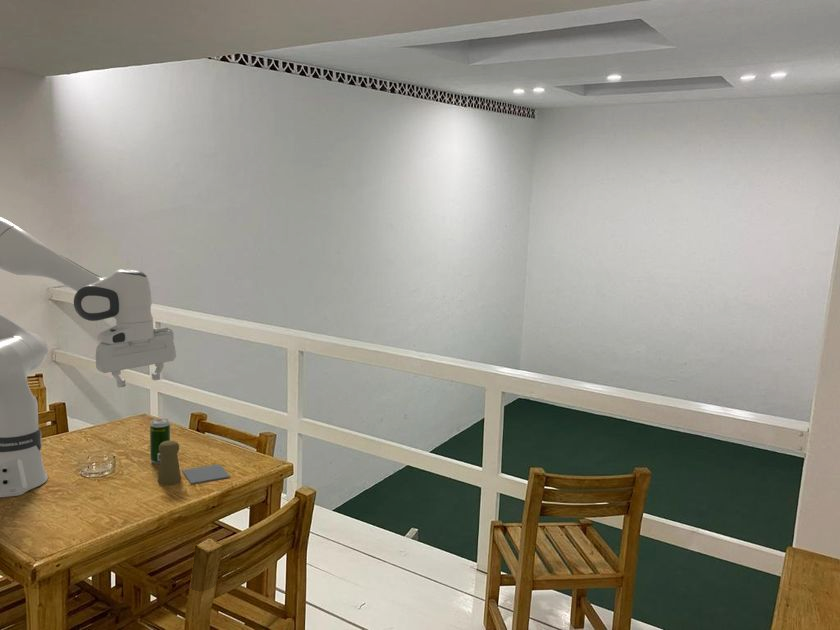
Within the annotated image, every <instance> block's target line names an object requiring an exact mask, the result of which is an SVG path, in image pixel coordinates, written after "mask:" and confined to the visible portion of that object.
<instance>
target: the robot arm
mask: <svg viewBox="0 0 840 630" xmlns="http://www.w3.org/2000/svg"><path fill="white" fill-rule="evenodd" d="M0 269H1V270H3V271H6V272H7V273H10V274H13V275H16V276H17V275H18V276H33V277H34V276H35V277H43V278H49V279H52V280H55V281H57V282H58V283H61V284H63V285H65V286H66V287H67V288H70V289H71V290H73V291H76V293H75V295H74V297H73V307H74V310H75V312H76V313H77V314H78V316H80V318H82V319H84V320H86V321H90V322H99V321H104V320H107V319H111V318H113V319H115V322H116V323H115V325H113V326H112V327H110V328H108V329H105V330H103V331H101V332H100V333H98V334H97V336H96V337H97V341H98V342H99V343H98V344H97V346H96V349H95V367H96V370H97V371H98V372H100V373H103V374H108V373H111V376H112V377H113V378H114V379H115V381H116V385H117V387H118V388H123V387H124V388H125V387H126V385H127V384H126V379H123V378H121V377H120V375H121V374H122V373H121V371H124V370H129V369H135V368H141V367H142V368H143V367H146V366H152V365H154V366H155V367H156V368H155V371H154V372H152V373H151V376H152V377H151V379H152V381H158V380H161V373H162V371H163V368H164V363H169V362H173V361H175V359H176V357H177V354H176V352H177V351H176V347H175V342H174V339H175V336H174V335H175V334H174V331H173V330H172V328H171V329H170V328H168V327H161V328H160V327H159V328H154V318H153V314H152V311H151V308H152V303H153V301H152V293H151V286H150V281H149V278H148V276H147V275H146V274H145V273H144V272H142V271H140V270H136V269H130V268H129V269H128V268H127V269H126V268H125V269H123V268H122V269H117V270H115V271H114V272H113V273H112V274H110V275H109V276H107V277H105V276H104V277H103V276H100V275H98V274H96V273H94V272H93V271H90V270H89V269H87V268H85V267H83V266H81V265H80V264H78V263H76V262H74V261H73V260H70V259H69V258H67V257H65V256H63V255H61V254H60V253H58V252H57V251H55V249H54V250H53V249H52V248H51V247H49V246H48V245H46V244H45V243H43V242H41V241H40V240H39V239H37V237H35V236H33V235H32V234H30V233H28V232H27V231H25V230H24V229H23V228H20V227H19V226H18V225H17V224H14V223H13V222H11V221H9V220H7V219H5V218H3V217H1V216H0ZM48 347H49V346H48V344H47V342H46V340H45V339H44V338H43V337H42V336H41V335H39V334H37V333H34V332H31V331H28V330H27V329H25V328H23V327H21V326H20V325H19V324H17V323H15V322H13V321H12V320H10V319H9V318H7V317H6V316H4V315H3V314H2V313H0V498H7V497H15V496H18V497H19V496H21V495H23V494H26V492H28V491H30V490H32V489H35V488H37V487H39V486H41V485H43V484H44V483H45V482H47V481H48V480H49V479H48V478H49V476H48V475H47V471H46V469H45V465H44V462H43V457H42V452H41V451H42V443H43V441H42V439H43V438H42V431H41V428H40V426H39V407H38V400H37V397H36V396H35V395H34V394H33V393H32V391H31V389H30V385H29V383H28V374H30V373H32V372H33V371H36V370H37V369H39V367H40V366H41V365H43V363H44V362H45V360H46V359H47V358H48V357H47V356H48V352H49V349H48Z"/></svg>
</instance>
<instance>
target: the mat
mask: <svg viewBox="0 0 840 630" xmlns="http://www.w3.org/2000/svg"><path fill="white" fill-rule="evenodd" d="M181 472H182V473H183V475H184V476H185V478H186V479H187V481H188V482H189V483H190V485H196V484H200V483H205V482H212V481H219V480H223V479H229V478H231V476H230V474H229V473H228V472H227V471H226V470H225V468H224V467H223V466H222V465H221V464H219V463H218V464H212V465H207V466H206V465H205V466H201V467H193V468H187V469H182V470H181Z"/></svg>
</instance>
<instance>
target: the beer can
mask: <svg viewBox="0 0 840 630" xmlns="http://www.w3.org/2000/svg"><path fill="white" fill-rule="evenodd" d="M164 441H171V423H170V420H169V419H167V418H155V419H152V420H151V421H150V424H149V443H150V445H149V447H150V461H151V463H152V464H155V465H156V464H157V465H160V458H161V454H160V453H159V445H160V444H161V443H162V442H164Z"/></svg>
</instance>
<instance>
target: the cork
mask: <svg viewBox="0 0 840 630" xmlns="http://www.w3.org/2000/svg"><path fill="white" fill-rule="evenodd" d="M179 451H180V444H179V443H178V441H176V440H170V441H164V442H162V443H161V444H160V445H159V453H160V454H161V458H160V464H159V468H158V475H157V483H159V484H158V485H161V486H174V485H176V484H179V483H181V482H182V476H181V470H180V469H181V468H180V465H179V458H178V457H179V456H178V453H179Z"/></svg>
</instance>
